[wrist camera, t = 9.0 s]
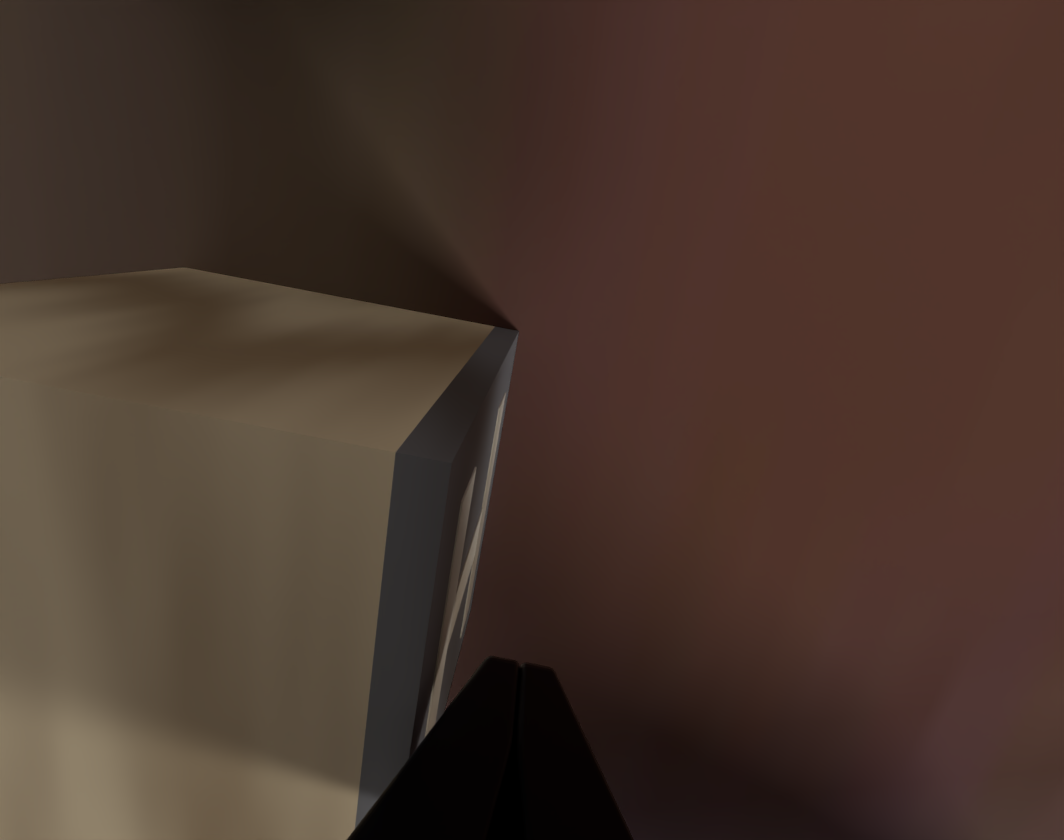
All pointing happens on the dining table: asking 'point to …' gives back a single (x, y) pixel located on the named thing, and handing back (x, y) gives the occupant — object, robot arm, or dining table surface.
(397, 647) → the letter cube
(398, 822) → the robot arm
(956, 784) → the dining table surface
